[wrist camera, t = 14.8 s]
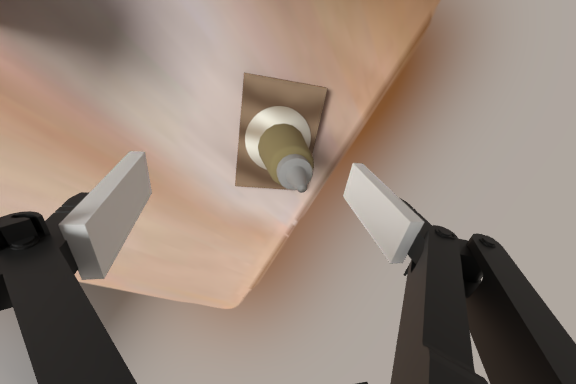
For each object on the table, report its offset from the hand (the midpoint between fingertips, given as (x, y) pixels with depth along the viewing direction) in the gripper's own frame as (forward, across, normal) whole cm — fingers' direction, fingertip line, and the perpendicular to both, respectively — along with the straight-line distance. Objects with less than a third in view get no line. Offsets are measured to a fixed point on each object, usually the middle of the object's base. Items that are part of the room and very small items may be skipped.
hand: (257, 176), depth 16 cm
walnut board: (+29, +6, -7) cm, 31 cm away
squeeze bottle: (+28, +6, -7) cm, 29 cm away
